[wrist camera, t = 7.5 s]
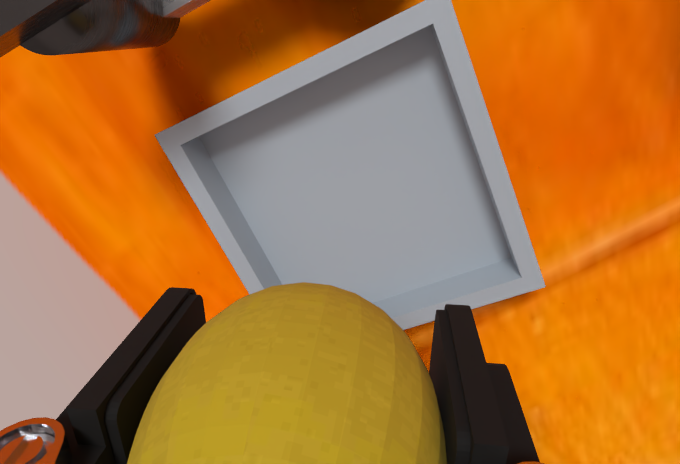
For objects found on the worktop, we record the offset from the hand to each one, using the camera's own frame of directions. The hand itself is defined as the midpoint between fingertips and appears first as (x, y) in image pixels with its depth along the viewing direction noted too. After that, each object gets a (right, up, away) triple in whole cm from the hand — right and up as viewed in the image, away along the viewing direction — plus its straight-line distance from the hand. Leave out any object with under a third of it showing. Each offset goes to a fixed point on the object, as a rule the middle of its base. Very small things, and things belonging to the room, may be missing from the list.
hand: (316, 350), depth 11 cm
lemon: (0, +1, +1) cm, 1 cm away
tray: (+1, +5, +11) cm, 12 cm away
